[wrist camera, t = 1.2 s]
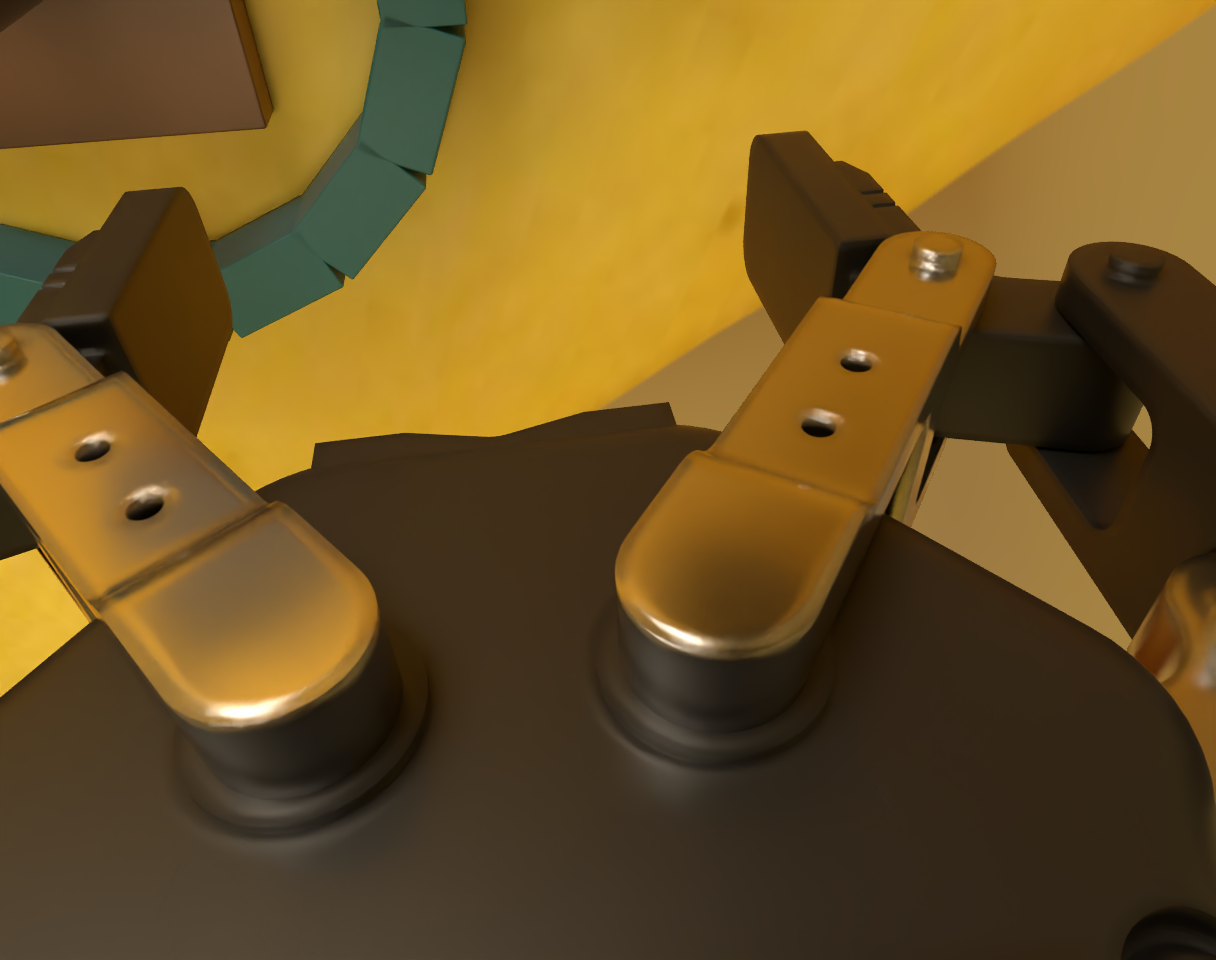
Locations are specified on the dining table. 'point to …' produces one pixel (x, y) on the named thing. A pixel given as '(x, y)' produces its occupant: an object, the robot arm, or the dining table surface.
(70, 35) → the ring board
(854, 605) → the robot arm
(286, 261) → the ring
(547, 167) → the dining table surface
